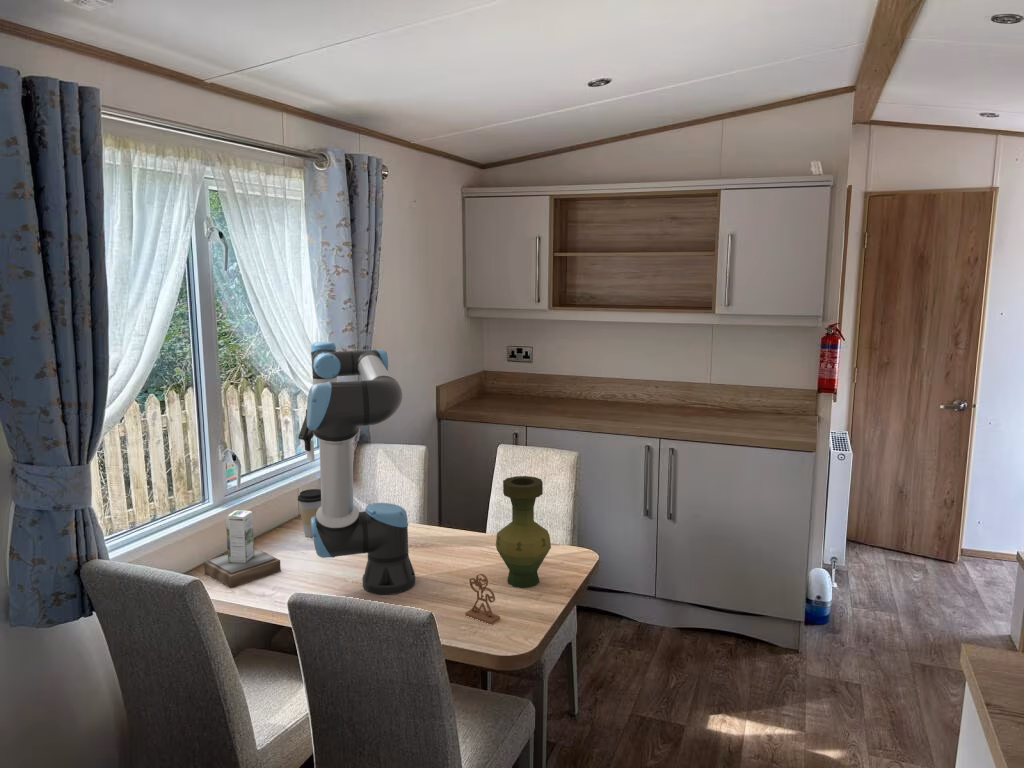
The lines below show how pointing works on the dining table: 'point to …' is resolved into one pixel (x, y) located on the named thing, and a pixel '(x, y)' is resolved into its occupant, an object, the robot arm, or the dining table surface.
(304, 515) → the coffee cup
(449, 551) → the dining table surface
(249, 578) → the stand
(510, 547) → the vase
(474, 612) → the gingerbread man figurine
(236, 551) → the syrup box
